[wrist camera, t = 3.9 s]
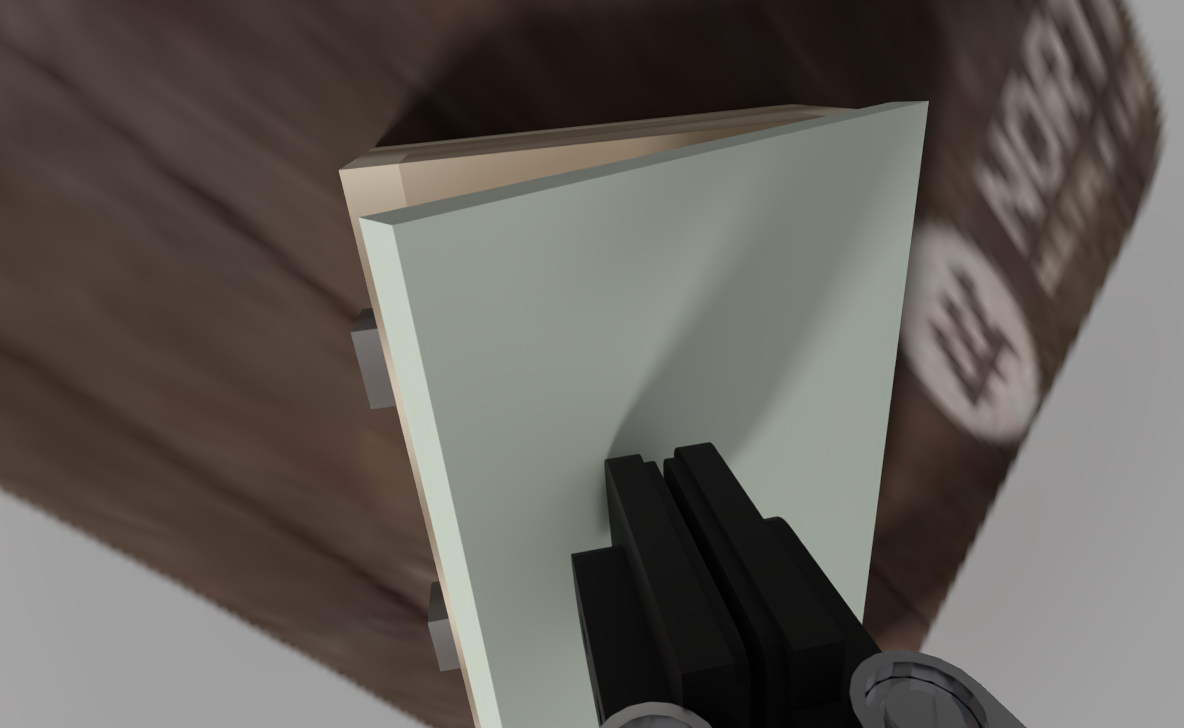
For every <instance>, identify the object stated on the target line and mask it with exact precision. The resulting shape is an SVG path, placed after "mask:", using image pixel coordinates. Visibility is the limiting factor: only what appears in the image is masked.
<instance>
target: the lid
mask: <svg viewBox="0 0 1184 728" xmlns="http://www.w3.org/2000/svg"><path fill="white" fill-rule="evenodd" d="M928 103H929V101H912V102H889V103H885V104H880V105H875V106H871V107H866V108H862V109H857V110H852V111H848V112H843V113H839V114H834V115H829V116H825V117H820V118H815V119H811V120H806V121H802V122H797V123H792V124H788V125H783V126H778V127H774V128H769V129H765V130H760V131H755V132H751V133H746V134H742V135H737V136H732V137H728V138H723V139H718V140H714V141H709V142H705V143H700V144H695V145H691V146H686V147H682V148H677V149H672V150H668V151H663V152H658V153H654V154H649V155H645V156H640V157H635V158H631V159H626V160H621V161H617V162H612V163H608V164H603V165H598V166H594V167H589V168H585V169H580V170H575V171H571V172H566V173H561V174H557V175H552V176H548V177H543V178H538V179H534V180H529V181H525V182H520V183H515V184H511V185H506V186H501V187H497V188H492V189H488V190H483V191H478V192H474V193H469V194H464V195H460V196H455V197H451V198H446V199H441V200H437V201H432V202H428V203H423V204H418V205H414V206H409V207H404V208H400V209H395V210H391V211H386V212H381V213H377V214H372V215H368V216H363V217H359V222H360V226H361V230H362V234H363V238H364V242H365V247H366V251H367V255H368V259H369V263H370V267H371V272H372V276H373V280H374V284H375V288H376V292H377V297H378V301H379V305H380V309H381V313H382V317H383V321H384V326H385V330H386V334H387V338H388V342H389V346H390V351H391V355H392V359H393V363H394V367H395V371H396V376H397V380H398V384H399V388H400V392H401V396H402V401H403V405H404V409H405V413H406V417H407V421H408V426H409V430H410V434H411V438H412V442H413V446H414V451H415V455H416V459H417V463H418V467H419V471H420V476H421V480H422V484H423V488H424V492H425V496H426V501H427V505H428V509H429V513H430V517H431V521H432V526H433V530H434V534H435V538H436V542H437V546H438V551H439V555H440V559H441V563H442V567H443V571H444V576H445V580H446V584H447V588H448V592H449V596H450V601H451V605H452V609H453V613H454V617H455V621H456V626H457V630H458V634H459V638H460V642H461V646H462V651H463V655H464V659H465V663H466V667H467V671H468V676H469V680H470V684H471V688H472V692H473V696H474V701H475V705H476V709H477V713H478V717H479V721H480V725H481V728H599V724H598V719H597V714H596V708H595V703H594V698H593V693H592V687H591V682H590V677H589V672H588V666H587V661H586V656H585V650H584V645H583V639H582V633H581V627H580V621H579V615H578V608H577V602H576V594H575V587H574V579H573V571H572V563H571V554H573V553H578V552H584V551H589V550H595V549H600V548H606V547H611V546H612V544H611V533H610V523H609V512H608V502H607V491H606V480H605V469H604V461H605V459H610V458H616V457H622V456H628V455H634V454H640V455H641V457H642V459H643V461H644V462H649V461H655V462H656V464H657V466H658V468H659V470H660V472H661V474H662V476H663V461H664V459H667V458H673V457H674V450H675V448H676V447H682V446H688V445H694V444H700V443H706V442H711V443H712V444H713V445H714V446H715V448H716V449H717V451H718V452H719V454H720V455H721V456H722V458H723V459H724V461H725V462H726V464H727V465H728V467H729V468H730V470H731V471H732V473H733V474H734V476H735V477H736V479H737V480H738V482H739V483H740V484H741V486H742V487H743V489H744V490H745V492H746V493H747V495H748V496H749V498H750V499H751V501H752V502H753V504H754V505H755V507H756V508H757V510H758V511H759V512H760V514H761V515H762V517H763V518H764V519H765V518H771V517H776V516H779V517H781V518H783V519H784V520H785V521H786V522H787V523H788V524H789V525H790V526H791V528H792V529H793V531H794V532H795V533H796V535H797V536H798V537H799V539H800V540H801V542H802V543H803V544H804V546H805V547H806V548H807V550H808V551H809V553H810V554H811V555H812V557H813V558H814V559H815V561H816V562H817V564H818V565H819V566H820V568H821V569H822V570H823V572H824V573H825V575H826V576H827V577H828V579H829V580H830V581H831V583H832V584H833V585H834V587H835V588H836V590H837V591H838V592H839V594H840V595H841V596H842V598H843V599H844V601H845V602H846V603H847V605H848V606H849V607H850V609H851V610H852V612H853V613H854V614H855V616H856V617H857V618H858V620H859V621H860V623H861V624H862V621H863V613H864V605H865V598H866V590H867V582H868V574H869V566H870V558H871V551H872V543H873V535H874V527H875V519H876V511H877V503H878V496H879V488H880V480H881V472H882V464H883V456H884V448H885V441H886V433H887V425H888V417H889V409H890V401H891V394H892V386H893V378H894V370H895V362H896V354H897V346H898V339H899V331H900V323H901V315H902V307H903V299H904V291H905V284H906V276H907V268H908V260H909V252H910V244H911V237H912V229H913V221H914V213H915V205H916V197H917V189H918V182H919V174H920V166H921V158H922V150H923V142H924V134H925V127H926V119H927V111H928ZM663 478H664V476H663Z"/></svg>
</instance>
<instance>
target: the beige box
mask: <svg viewBox="0 0 1184 728" xmlns="http://www.w3.org/2000/svg"><path fill="white" fill-rule="evenodd" d="M852 110H857V109H848V108H835V107H822V106H809V105H796V104H787V105H778V106H768V107H759V108H749V109H740V110H730V111H720V112H711V113H701V114H692V115H682V116H673V117H663V118H653V119H644V120H634V121H625V122H615V123H606V124H596V125H587V126H577V127H567V128H558V129H548V130H539V131H529V132H520V133H510V134H500V135H491V136H481V137H472V138H462V139H453V140H443V141H434V142H424V143H414V144H405V145H395V146H386V147H376V148H373V149H371V150H370V151H368V152H366V153H365V154H363V155H362V156H360V157H359V158H357V159H356V160H354V161H352V162H351V163H349V164H348V165H346V166H345V167H343V168H341V169H340V170H339V173H340V177H341V181H342V185H343V189H344V193H345V197H346V202H347V206H348V210H349V214H350V218H351V222H352V226H353V230H354V234H355V238H356V242H357V246H358V250H359V255H360V259H361V263H362V267H363V271H364V275H365V279H366V283H367V287H368V291H369V295H370V299H371V303H372V307H373V308H368V309H362V311H361V313H360V315H359V317H358V319H357V321H356V323H355V325H354V327H353V329H352V331H351V335H352V339H353V343H354V347H355V350H356V354H357V358H358V362H359V365H360V369H361V373H362V377H363V380H364V384H365V388H366V392H367V395H368V399H369V403H370V407H371V409H376V408H383V407H389V406H396V405H397V409H398V413H399V417H400V422H401V426H402V430H403V434H404V438H405V442H406V446H407V450H408V454H409V458H410V462H411V466H412V470H413V474H414V479H415V483H416V487H417V491H418V495H419V499H420V503H421V507H422V511H423V515H424V519H425V523H426V527H427V532H428V536H429V540H430V544H431V548H432V552H433V556H434V560H435V564H436V568H437V572H438V576H439V580H440V581H438V582H433V583H432V584H431V594H430V605H429V615H428V625H429V629H430V633H431V637H432V640H433V644H434V648H435V652H436V655H437V659H438V663H439V667H440V671H446V670H451V669H456V668H461V670H462V674H463V678H464V682H465V686H466V690H467V694H468V699H469V703H470V707H471V711H472V715H473V719H474V723H475V727H476V728H481V725H480V721H479V717H478V713H477V709H476V705H475V701H474V696H473V692H472V688H471V684H470V680H469V676H468V671H467V667H466V663H465V659H464V655H463V651H462V646H461V642H460V638H459V634H458V630H457V626H456V621H455V617H454V613H453V609H452V605H451V601H450V596H449V592H448V588H447V584H446V580H445V576H444V571H443V567H442V563H441V559H440V555H439V551H438V546H437V542H436V538H435V534H434V530H433V526H432V521H431V517H430V513H429V509H428V505H427V501H426V496H425V492H424V488H423V484H422V480H421V476H420V471H419V467H418V463H417V459H416V455H415V451H414V446H413V442H412V438H411V434H410V430H409V426H408V421H407V417H406V413H405V409H404V405H403V401H402V396H401V392H400V388H399V384H398V380H397V376H396V371H395V367H394V363H393V359H392V355H391V351H390V346H389V342H388V338H387V334H386V330H385V326H384V321H383V317H382V313H381V309H380V305H379V301H378V297H377V292H376V288H375V284H374V280H373V276H372V272H371V267H370V263H369V259H368V255H367V251H366V247H365V242H364V238H363V234H362V230H361V226H360V222H359V217H363V216H368V215H372V214H377V213H381V212H386V211H391V210H395V209H400V208H404V207H409V206H414V205H418V204H423V203H428V202H432V201H437V200H441V199H446V198H451V197H455V196H460V195H464V194H469V193H474V192H478V191H483V190H488V189H492V188H497V187H501V186H506V185H511V184H515V183H520V182H525V181H529V180H534V179H538V178H543V177H548V176H552V175H557V174H561V173H566V172H571V171H575V170H580V169H585V168H589V167H594V166H598V165H603V164H608V163H612V162H617V161H621V160H626V159H631V158H635V157H640V156H645V155H649V154H654V153H658V152H663V151H668V150H672V149H677V148H682V147H686V146H691V145H695V144H700V143H705V142H709V141H714V140H718V139H723V138H728V137H732V136H737V135H742V134H746V133H751V132H755V131H760V130H765V129H769V128H774V127H778V126H783V125H788V124H792V123H797V122H802V121H806V120H811V119H815V118H820V117H825V116H829V115H834V114H839V113H843V112H848V111H852Z"/></svg>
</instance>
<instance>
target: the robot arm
mask: <svg viewBox="0 0 1184 728" xmlns="http://www.w3.org/2000/svg"><path fill="white" fill-rule="evenodd" d="M604 469H605V480H606V491H607V502H608V512H609V523H610V533H611V544H612V546H611V547H606V548H600V549H595V550H589V551H584V552H578V553H573V554H571V563H572V571H573V579H574V587H575V594H576V602H577V608H578V615H579V621H580V627H581V633H582V639H583V645H584V650H585V656H586V661H587V666H588V672H589V677H590V682H591V687H592V693H593V698H594V703H595V708H596V714H597V719H598V724H599V728H1026V727H1025V726H1024V725H1023V724H1022V723H1021V722H1020V721H1019V720H1018V719H1017V718H1016V717H1014V715H1013V714H1012V713H1010V712H1009V711H1008V710H1007V709H1006V708H1005V707H1004V706H1003V705H1002V704H1001V703H1000V702H999V701H998V700H997V699H996V698H995V697H994V696H992V695H991V694H990V693H989V692H988V691H987V690H986V689H985V688H984V687H983V686H982V685H981V684H980V683H978V682H977V681H976V680H974V679H973V678H972V677H970V676H969V675H968V674H966V673H965V672H964V671H963V670H961V669H960V668H958V667H956V666H954V665H952V664H950V663H948V662H946V661H943V660H942V659H940V658H937V657H934V656H930V655H927V654H923V653H920V652H916V651H901V650H892V651H887V652H883V653H882V651H881V650H880V649H879V647H878V646H877V644H876V643H875V642H874V640H873V639H872V638H871V636H870V635H869V634H868V632H867V631H866V629H865V628H864V627H863V625H862V624H861V623H860V621H859V620H858V618H857V617H856V616H855V614H854V613H853V612H852V610H851V609H850V607H849V606H848V605H847V603H846V602H845V601H844V599H843V598H842V596H841V595H840V594H839V592H838V591H837V590H836V588H835V587H834V585H833V584H832V583H831V581H830V580H829V579H828V577H827V576H826V575H825V573H824V572H823V570H822V569H821V568H820V566H819V565H818V564H817V562H816V561H815V559H814V558H813V557H812V555H811V554H810V553H809V551H808V550H807V548H806V547H805V546H804V544H803V543H802V542H801V540H800V539H799V537H798V536H797V535H796V533H795V532H794V531H793V529H792V528H791V526H790V525H789V524H788V523H787V522H786V521H785V520H784V519H783V518H781V517H779V516H776V517H771V518H765V519H764V518H763V517H762V515H761V514H760V512H759V511H758V510H757V508H756V507H755V505H754V504H753V502H752V501H751V499H750V498H749V496H748V495H747V493H746V492H745V490H744V489H743V487H742V486H741V484H740V483H739V482H738V480H737V479H736V477H735V476H734V474H733V473H732V471H731V470H730V468H729V467H728V465H727V464H726V462H725V461H724V459H723V458H722V456H721V455H720V454H719V452H718V451H717V449H716V448H715V446H714V445H713V444H712V443H711V442H706V443H700V444H694V445H688V446H682V447H676V448H675V450H674V457H673V458H667V459H664V461H663V476H664V478H663V476H662V474H661V472H660V470H659V468H658V466H657V464H656V462H655V461H649V462H644V461H643V459H642V457H641V455H640V454H634V455H628V456H622V457H616V458H610V459H605V461H604Z"/></svg>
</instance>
